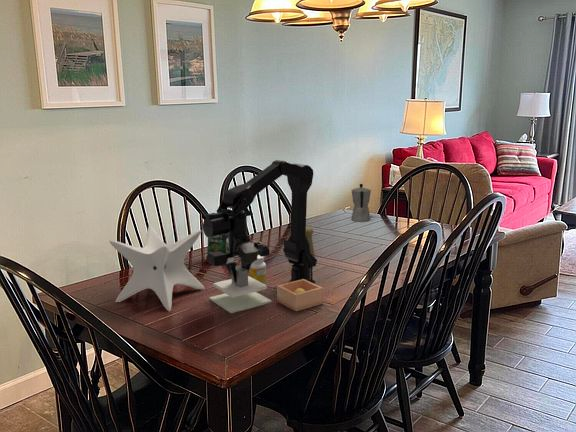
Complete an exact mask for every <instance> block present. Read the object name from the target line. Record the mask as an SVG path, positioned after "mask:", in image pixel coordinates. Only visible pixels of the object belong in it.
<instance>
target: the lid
mask: <svg viewBox="0 0 576 432" xmlns="http://www.w3.org/2000/svg"><path fill="white" fill-rule="evenodd" d="M212 284H213V285H212V286H213V287H214V288H216V289H217V290H219V291H221V292H222V293H223V294H227V295H229V296H230V297H232V298H233V297H237V296H241V295H245V294H249V293H253V292H259V291H264V290H267V289H268V285H267V284H266V285H265V284H263V283H261V282H259V281H257V280H255V279H253V278H251V277H250V275H249V272H248V270H247V269H245V268H243V267H241V265H236V283H235V282H233V280H232V278H229V279H224V280H221V281H217V282H213V283H212Z"/></svg>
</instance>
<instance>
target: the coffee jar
mask: <svg viewBox="0 0 576 432" xmlns="http://www.w3.org/2000/svg"><path fill="white" fill-rule="evenodd" d="M213 213H214V212H210V214H213ZM227 234H228V233H227ZM227 247H229V242H228V238H226V234H225V235H221V236H216V237H211V238H208V237H207V250H206V251H207V255H208V253H211V252H216V251H220V252H222V253H224V254H225V253H229V251H227Z"/></svg>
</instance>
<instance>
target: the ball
mask: <svg viewBox="0 0 576 432" xmlns="http://www.w3.org/2000/svg"><path fill="white" fill-rule="evenodd" d="M301 292H305V290H304V289H302V288H298V289H296V290H295V292H294V293H296V294H297V293H301Z"/></svg>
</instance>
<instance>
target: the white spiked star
mask: <svg viewBox="0 0 576 432" xmlns="http://www.w3.org/2000/svg"><path fill="white" fill-rule="evenodd" d="M201 233H202V230H201V229H199V230H196V231H193V232H192V233H190V234H188V235H187V236H185V237H183V238H181V239H180V240H178V241H175V242H173V243H169V244H168V243H165V242H164V241H163V240H162V238H161V237H160V236H159V234H158V232H156V230H155V229H154V227H153V226H152V225H148V227H147V232H146V241H145V245H144V246H142V247H138V246H133V245H131V244H130V245H129V244H128V243H127V244H126V243H123V242H121V241H118V240H117V241H116V240H112V239H111V240H108V241H109V244H110V245H111V246H112V247H113V248H114V249H115V250H116V251H117V252H118V253H119V254H120V255H121V256H122V257H124V259H126V260H127V261H128V262H129V263H130V265H131V266H132V269H133V271H132V273H131V276H130V278H129V279H128V282H127V283H126V284H125V286H124V287H123V288H122V290H121V291H120V293H119V294H118V295H117V297H116V299H115V302H119V303H121V302H122V301H125V300H127V299H129V298H130V297H132V296H134V295H136V294H138V293H139V292H142V291H143V290H147V289H150V290H152V291H154V293H155V295H156V296H157V297H158V299H159V300H160V302H161V303H162V306H163V307H164V308H165V310H166V311H168V312H171V311H172V304H173V303H172V302H173V288H174V286H175V285H182V286H185V287H190V288H193V289H197V290H202V291H203V290H205V286H204V285H203V284H202V283H201V282H200V281H199V280H198V279H197V277H195V276H194V275H193V274H192V273H191V272H190V271H189V270H188V269H187V267H186V265H185V259H186V257H187V254H188V253H189V251H190V250H191V248H192V247H193V245H194V244H195V243H196V242H197V240H198V238H199V237H200V235H201ZM115 302H114V303H115Z"/></svg>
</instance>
